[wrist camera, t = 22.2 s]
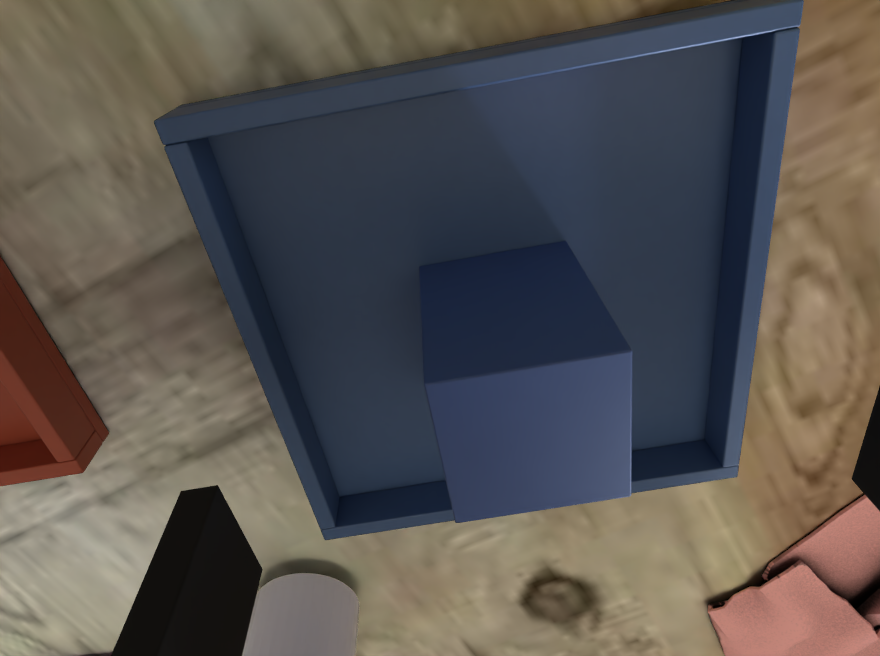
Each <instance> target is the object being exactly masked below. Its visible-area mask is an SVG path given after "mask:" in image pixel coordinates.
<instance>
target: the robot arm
mask: <svg viewBox="0 0 880 656" xmlns="http://www.w3.org/2000/svg"><path fill="white" fill-rule="evenodd" d="M852 480H853V481H854V482H855V484H856V485H857V486H858V487H859V488H860V489H861V490H862V492H863V493H864V494H865V495H866V496H867V497H868V499H869V500H870V501H871V502H872V503H873V504H874V505H875V507H876V508H877V509H878V510H879V511H880V387H879V390H878V394H877V397H876V400H875V404H874V407H873V410H872V413H871V417H870V420H869V423H868V427H867V430H866V433H865V437H864V440H863V443H862V446H861V450H860V453H859V456H858V460H857V463H856V466H855V470H854V473H853V476H852ZM261 573H262V568H261V566H260V564H259V562H258V560H257V558H256V556H255V554H254V552H253V551H252V549H251V547H250V545H249V543H248V541H247V539H246V537H245V536H244V534H243V532H242V530H241V528H240V526H239V524H238V522H237V521H236V519H235V517H234V515H233V513H232V511H231V509H230V507H229V506H228V504H227V502H226V500H225V498H224V496H223V494H222V492H221V490H220V489H219V487H218V485H217V486H210V487H204V488H198V489H192V490H185V491H181V492H180V495H179V497H178V499H177V502H176V504H175V506H174V509H173V511H172V514H171V516H170V518H169V521H168V523H167V525H166V528H165V530H164V532H163V535H162V537H161V540H160V542H159V544H158V547H157V549H156V551H155V554H154V556H153V558H152V561H151V563H150V565H149V568H148V570H147V573H146V575H145V577H144V580H143V582H142V584H141V587H140V589H139V591H138V594H137V596H136V598H135V601H134V603H133V606H132V608H131V610H130V613H129V615H128V617H127V620H126V622H125V624H124V627H123V629H122V631H121V634H120V636H119V639H118V641H117V643H116V646H115V648H114V650H113V653H112V655H111V656H242V654H243V650H244V646H245V641H246V637H247V633H248V629H249V624H250V620H251V616H252V612H253V607H254V603H255V599H256V594H257V590H258V586H259V582H260V577H261Z"/></svg>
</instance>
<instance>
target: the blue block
mask: <svg viewBox="0 0 880 656" xmlns="http://www.w3.org/2000/svg"><path fill="white" fill-rule="evenodd" d="M419 281H420V305H421V329H422V354H423V378H424V388H425V393H426V397H427V401H428V406H429V410H430V415H431V419H432V423H433V428H434V432H435V436H436V441H437V445H438V450H439V454H440V458H441V463H442V467H443V471H444V476H445V480H446V485H447V489H448V493H449V498H450V502H451V507H452V511H453V515H454V520H455V522H456V523H460V522H467V521H473V520H480V519H486V518H493V517H499V516H506V515H512V514H519V513H525V512H532V511H538V510H545V509H551V508H558V507H564V506H571V505H577V504H584V503H590V502H597V501H603V500H610V499H616V498H623V497H629V496H631V468H632V349H631V348H630V346H629V344H628V343H627V341H626V339H625V338H624V336H623V334H622V333H621V331H620V329H619V328H618V326H617V325H616V323H615V321H614V320H613V318H612V316H611V315H610V313H609V311H608V310H607V308H606V306H605V305H604V303H603V301H602V300H601V298H600V296H599V295H598V293H597V291H596V290H595V288H594V286H593V285H592V283H591V281H590V280H589V278H588V276H587V275H586V273H585V271H584V270H583V268H582V266H581V265H580V263H579V261H578V260H577V258H576V256H575V255H574V253H573V251H572V250H571V248H570V246H569V245H568V243H567V241H562V242H556V243H551V244H545V245H539V246H533V247H528V248H522V249H516V250H510V251H505V252H499V253H493V254H487V255H482V256H476V257H470V258H465V259H459V260H453V261H447V262H442V263H436V264H430V265H424V266H420V267H419Z"/></svg>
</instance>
